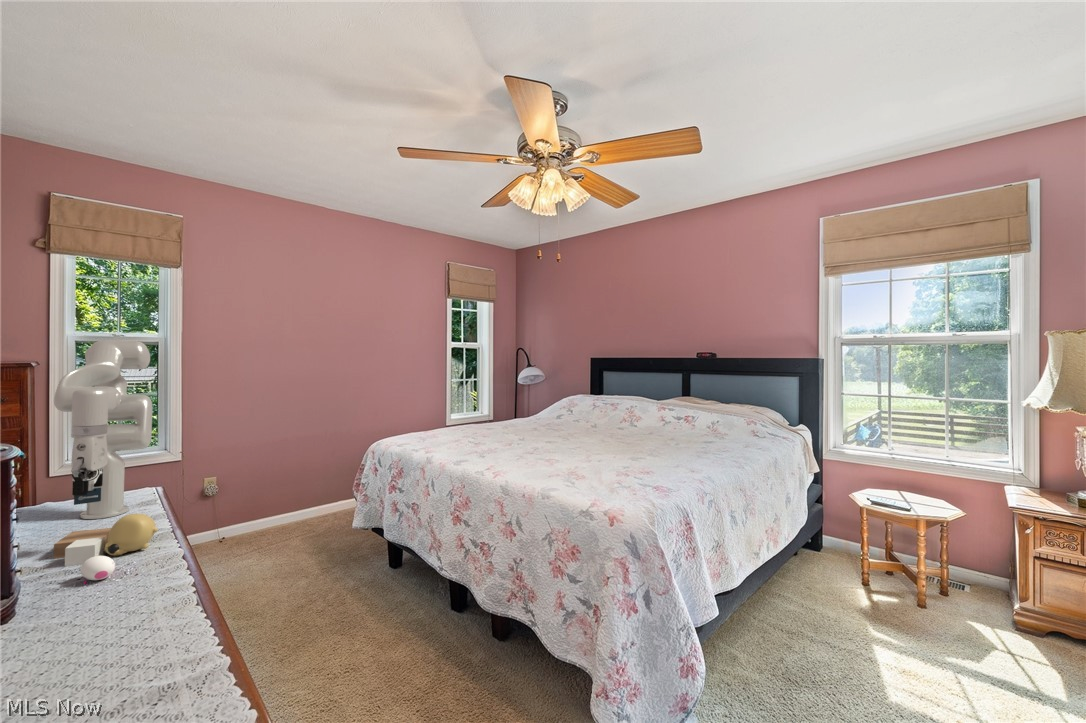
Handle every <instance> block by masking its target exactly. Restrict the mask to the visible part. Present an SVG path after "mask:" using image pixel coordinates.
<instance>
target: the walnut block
mask: <svg viewBox="0 0 1086 723" xmlns="http://www.w3.org/2000/svg"><path fill="white" fill-rule="evenodd" d="M111 528H112V527H106V528H96V529H88V530H85V529H84V530H76V531H71V532H70V533H68V534H67V535H66V536H64V537H63V538H61V539H60V540H58V541H56V542H55V543H54V544H53V559H54V560H55V559H62V558H64V559H65V548H66V547H68V546H69V545H70V544H72V543H73V542H74V541H76V540H82V539H92V538H101V537H104V546H105V544H106V541H108V536H109V532H110V530H111ZM104 551H105V549H104Z"/></svg>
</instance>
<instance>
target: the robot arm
mask: <svg viewBox="0 0 1086 723" xmlns="http://www.w3.org/2000/svg"><path fill="white" fill-rule="evenodd" d="M84 358H85V365H83V366H80V367H78V368H76V369H73V370H72V371H70V372H68V373H66V374H65V375H64V376H62V377H61V379H60V380H59V381H58V384H57V386H56V390H55V392H54V397H53V404H54V407H55V408H56V409H57V410H58V411H60V412H64V413H65V412H66V413H69V412H70V413H71V427H70V428H71V431H70V433H71V435H70V437H71V439H72V438H73V442H72V451H71V452H72V453H71V462H70V464H71V467H70V468H71V469H70V470H71V478H72V479H71V481H72V496H73V497H74V496H76V495H87V494H88V487H89V480H87V478H88V474H89V471H90V470H91V471H96V470H98V469H99V470H100V471H102V474H100V475H99V477H98V479H97V481H96V483H95V484H94V486H93V488H100V487H101V501H99V502H92V503H86V510H84V511H82V512H81V513H80V514H79V517H80V518H81V519H82V520H98V519H99V520H100V519H105V518H106V519H107V518H112V517H116V516H121V515H123V514H125V513H127V512H129V510H130V506H128V505H126V504H124V502H125V501H124V499H125V468H126V466H125V461H124V459H123V457H122V456H120V455H119V454H118V453H117V452H121V451H122V452H123V451H134V450H135V451H136V450H143V449H146V448H148V447H149V446H150V445H151V442H152V435H153V434H152V432H153V429H152V428H153V402H152V399H151V397H149V396H148V395H146V394H128V393H127V388H128V381H127V379H125V377H124V376H122V375H121V373H120V372H121V370H144V369H146V368H148V366H149V365H150V363H151V353H150V351H149V349H148V347H147V345H146V344H144V343H143V342H141V341H139V340H138V341H137V340H122V339H121V340H120V339H119V340H118V339H100V340H97V341H95V342H94V343H93V344H92V345H91V346H90V347H89V348H87V349H86V350H85V353H84ZM123 421H125V422H126V421H127V422H128V421H133V422H135V423H115V424H114V423H113V424H112V423H111V424H108V423H109V422H123ZM80 469H86V470H80ZM82 473H84V476H83V474H82Z"/></svg>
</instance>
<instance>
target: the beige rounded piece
mask: <svg viewBox="0 0 1086 723" xmlns="http://www.w3.org/2000/svg"><path fill="white" fill-rule="evenodd" d="M110 528H111V530H110V532H109V536H108V541H106V544H105V546H104V549H105V550H104V552H105V553H106V554H108V555H109V556H113V557H115V556H118V557H119V556H122V555H123V554H126V553H129V552H135V551H138V550H141V549H142V550H147V549H148V548H149V543H150V542H151V541H152V539H153V537H154V535H155V533H157V532H158V531H159V528H158V527H157V526H156V522H155V521H154V519H153V518H152V517H151V516H149V515H147V514H143V513H130V514H127V515H125V516H122V517H121V518H118V520H117V521H116V522H115V523H114V524H113V525H112V527H110Z"/></svg>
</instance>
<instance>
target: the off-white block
mask: <svg viewBox="0 0 1086 723" xmlns="http://www.w3.org/2000/svg"><path fill="white" fill-rule="evenodd" d="M104 555H105V550H104V537H101V538H92V539H82V540H76V541H74V542H73V543H72V544H70V545H69V546H68V547H66V548H65V557H64V567H71V566H80V565H81V566H82V564H83V563H84V562H85V561H86V560H87V559H89V558H91V557H94V556H104Z"/></svg>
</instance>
